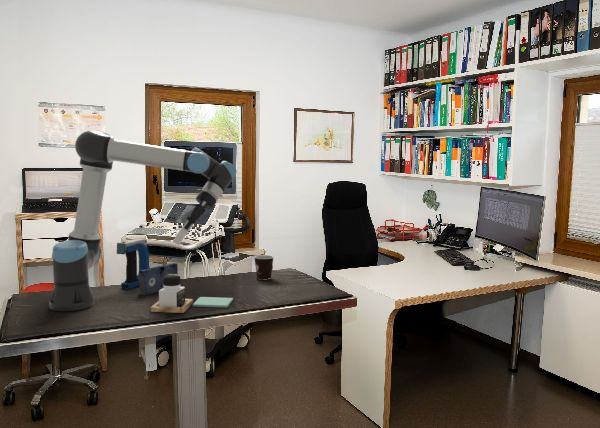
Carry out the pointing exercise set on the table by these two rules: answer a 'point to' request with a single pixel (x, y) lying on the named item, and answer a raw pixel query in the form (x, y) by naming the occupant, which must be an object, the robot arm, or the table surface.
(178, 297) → the medicine bottle
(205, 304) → the rubber mat
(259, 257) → the coffee mug
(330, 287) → the table surface
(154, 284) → the vhs cassette tape
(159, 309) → the oak cradle
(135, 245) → the handheld scanner
